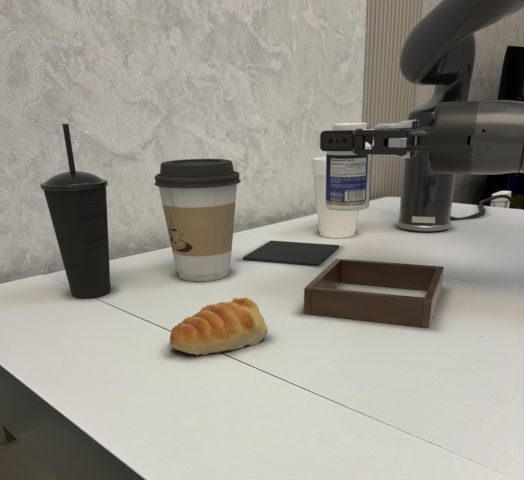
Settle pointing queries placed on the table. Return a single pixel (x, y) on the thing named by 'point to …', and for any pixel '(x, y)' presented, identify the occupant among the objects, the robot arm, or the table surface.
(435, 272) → the tray
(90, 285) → the drinking cup
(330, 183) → the pill bottle
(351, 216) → the foam cup
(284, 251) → the mat
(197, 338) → the pastry
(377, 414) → the table surface
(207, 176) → the coffee cup
